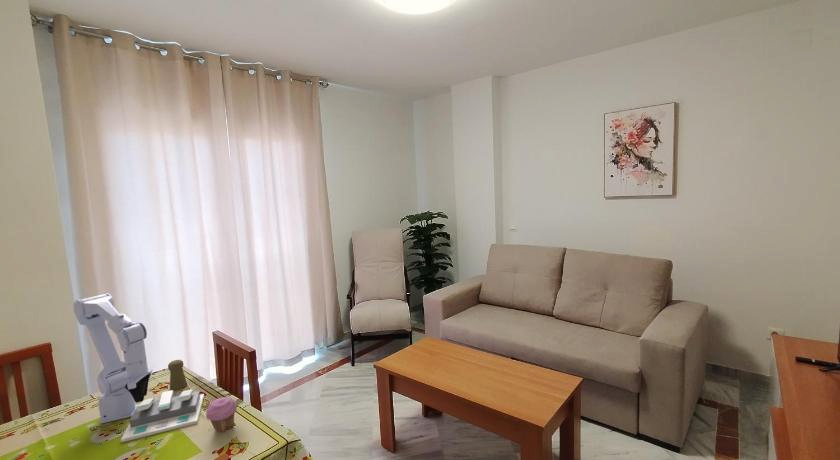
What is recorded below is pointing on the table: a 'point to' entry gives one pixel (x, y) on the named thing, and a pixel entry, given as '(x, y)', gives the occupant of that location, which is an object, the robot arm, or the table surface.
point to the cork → (177, 375)
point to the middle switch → (165, 400)
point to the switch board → (170, 425)
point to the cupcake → (221, 413)
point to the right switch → (185, 395)
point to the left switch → (145, 404)
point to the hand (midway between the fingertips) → (141, 398)
